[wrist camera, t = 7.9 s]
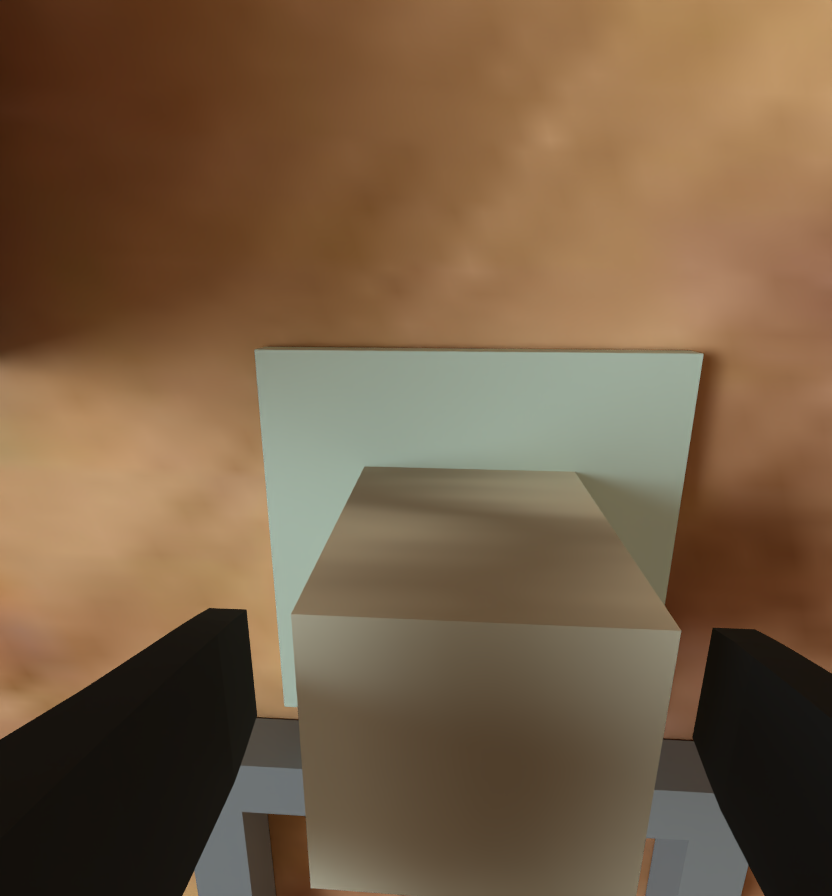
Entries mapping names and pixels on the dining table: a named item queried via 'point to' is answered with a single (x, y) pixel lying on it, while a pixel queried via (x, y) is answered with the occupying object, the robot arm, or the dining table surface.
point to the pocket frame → (281, 792)
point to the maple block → (479, 690)
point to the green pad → (470, 438)
